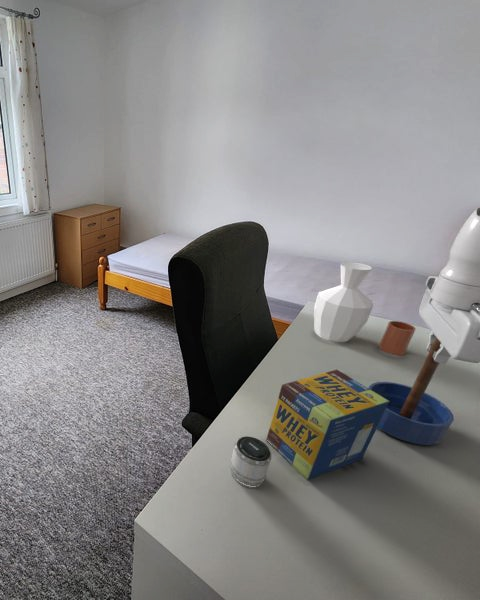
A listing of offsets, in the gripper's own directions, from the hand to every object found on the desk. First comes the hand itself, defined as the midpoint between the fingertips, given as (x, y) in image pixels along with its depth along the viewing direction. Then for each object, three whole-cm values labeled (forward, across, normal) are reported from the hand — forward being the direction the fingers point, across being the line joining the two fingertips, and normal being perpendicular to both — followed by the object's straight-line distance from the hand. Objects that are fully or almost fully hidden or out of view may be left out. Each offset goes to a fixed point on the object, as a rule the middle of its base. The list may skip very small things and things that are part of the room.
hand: (435, 356), depth 69 cm
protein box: (+19, -16, +18) cm, 31 cm away
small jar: (+19, -29, +30) cm, 46 cm away
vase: (+20, +40, +9) cm, 45 cm away
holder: (+20, +38, -6) cm, 43 cm away
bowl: (+19, +2, 0) cm, 19 cm away
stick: (+17, 0, 0) cm, 17 cm away
